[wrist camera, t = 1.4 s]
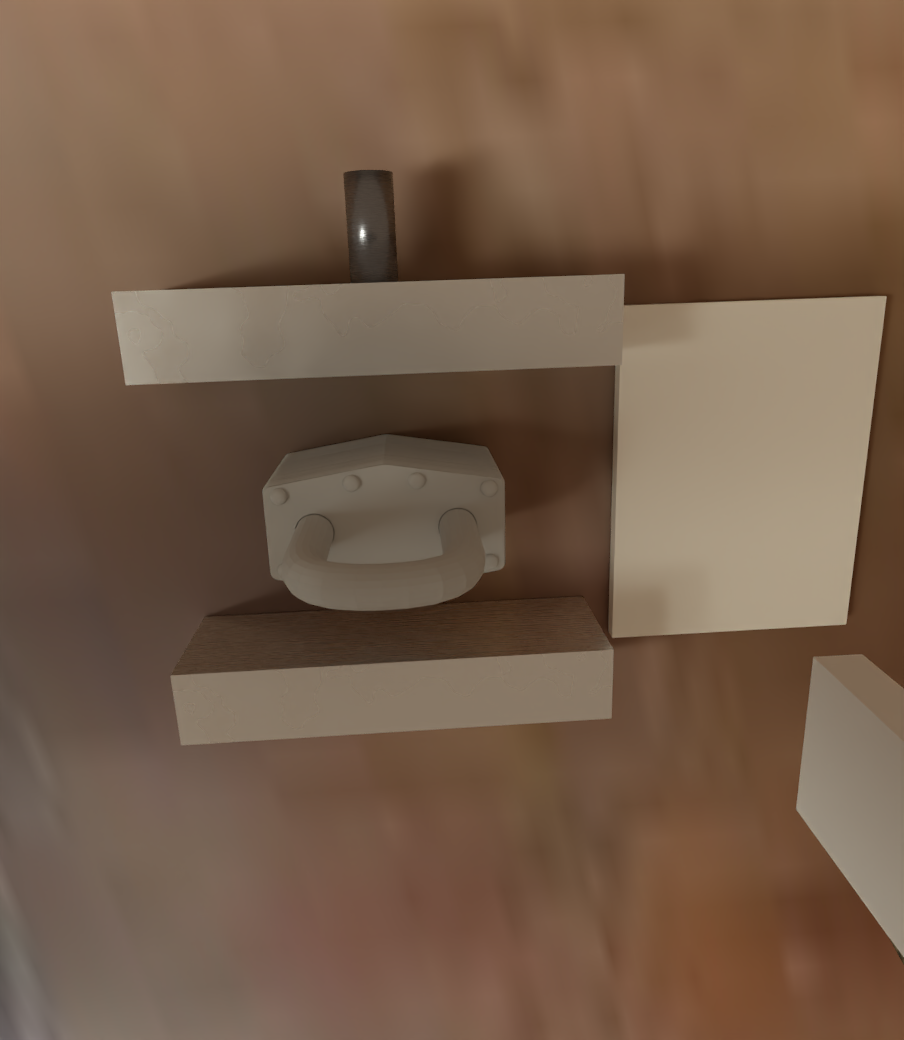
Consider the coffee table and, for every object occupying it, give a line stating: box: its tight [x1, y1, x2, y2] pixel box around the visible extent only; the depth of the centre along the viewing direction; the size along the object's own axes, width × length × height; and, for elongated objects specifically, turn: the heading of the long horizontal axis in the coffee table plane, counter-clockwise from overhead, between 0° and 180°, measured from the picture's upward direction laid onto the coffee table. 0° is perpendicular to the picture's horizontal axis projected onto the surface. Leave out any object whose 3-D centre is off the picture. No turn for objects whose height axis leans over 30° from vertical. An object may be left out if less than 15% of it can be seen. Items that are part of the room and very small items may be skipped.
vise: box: [111, 170, 625, 745], centre depth 25 cm, size 14×17×4 cm
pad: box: [608, 296, 887, 638], centre depth 28 cm, size 9×12×1 cm
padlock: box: [262, 434, 505, 611], centre depth 23 cm, size 7×4×10 cm, turn 91°
